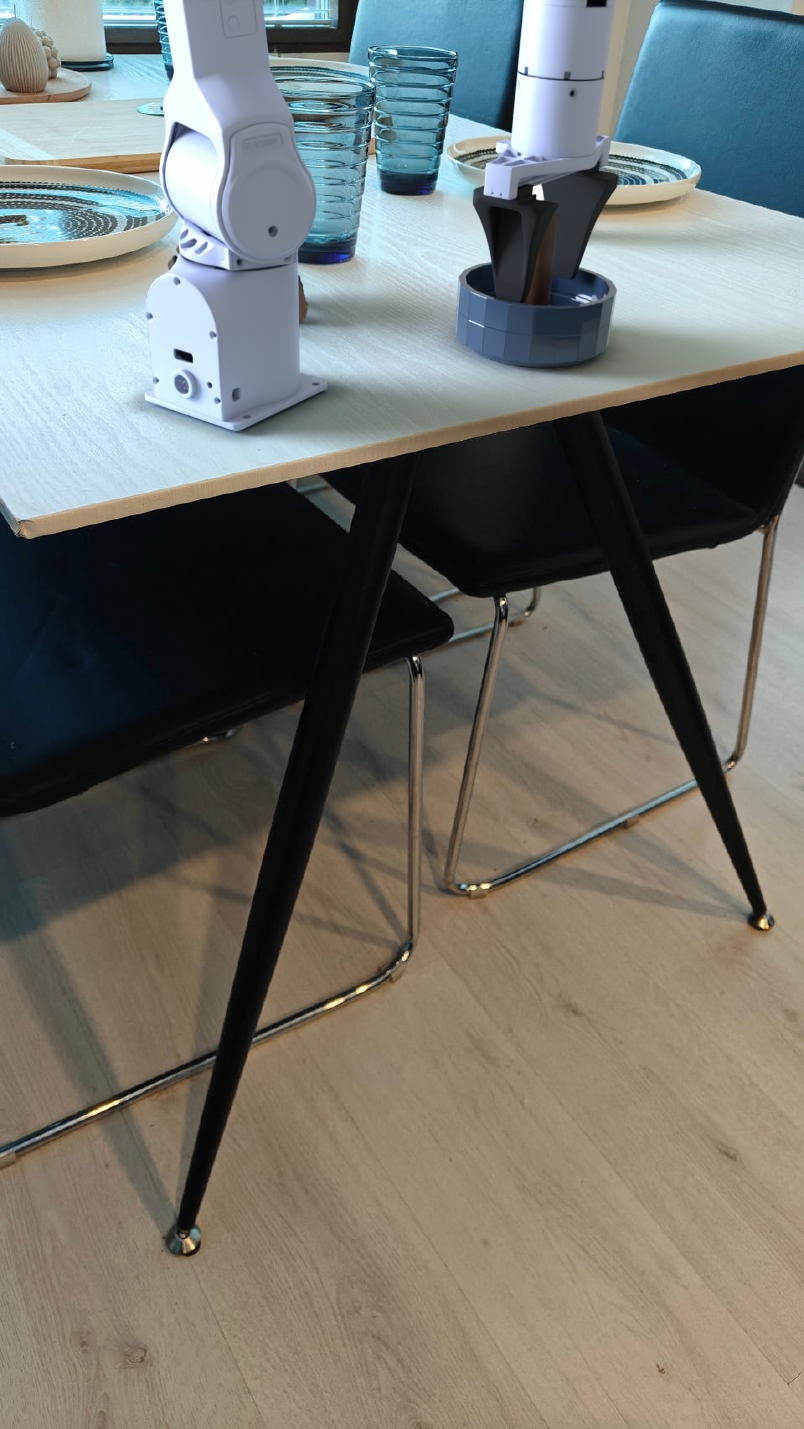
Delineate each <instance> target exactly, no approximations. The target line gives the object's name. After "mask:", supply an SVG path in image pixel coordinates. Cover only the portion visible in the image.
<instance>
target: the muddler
mask: <svg viewBox="0 0 804 1429" xmlns="http://www.w3.org/2000/svg"><path fill="white" fill-rule="evenodd" d="M558 226H559V215H558V214H555V213H554V215H553V217H552V219H551V220H550V223H549V225H548V227H547V229H546V232H545V234H544V237H543V240H542V242H541V246H540V249H539V252H538V256H537V261H536V265H535V270H534V275H533V280H532V285H531V289H530V292H529V295H528V298H527V300H526V302H525V303H523V304H531V305H547V306H552V305H549V299H550V291H551V283H552V275H553V267H554V258H555V250H556V242H557V234H558Z"/></svg>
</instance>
